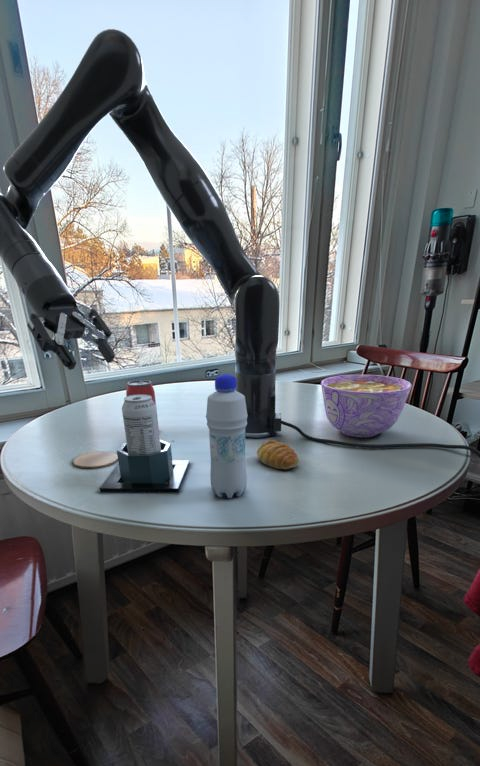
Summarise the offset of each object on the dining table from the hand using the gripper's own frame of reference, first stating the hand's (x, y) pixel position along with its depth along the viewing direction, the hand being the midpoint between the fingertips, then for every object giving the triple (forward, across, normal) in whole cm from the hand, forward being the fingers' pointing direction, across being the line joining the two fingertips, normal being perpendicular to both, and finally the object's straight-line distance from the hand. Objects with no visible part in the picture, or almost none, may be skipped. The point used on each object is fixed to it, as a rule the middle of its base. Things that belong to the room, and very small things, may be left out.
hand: (93, 363), depth 84 cm
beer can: (+8, +19, +21) cm, 29 cm away
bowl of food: (+37, +48, -11) cm, 62 cm away
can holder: (+22, 0, +4) cm, 23 cm away
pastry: (+33, +20, -7) cm, 40 cm away
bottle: (+34, +3, -8) cm, 35 cm away
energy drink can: (+22, 0, +5) cm, 23 cm away
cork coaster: (+12, 0, +16) cm, 20 cm away
